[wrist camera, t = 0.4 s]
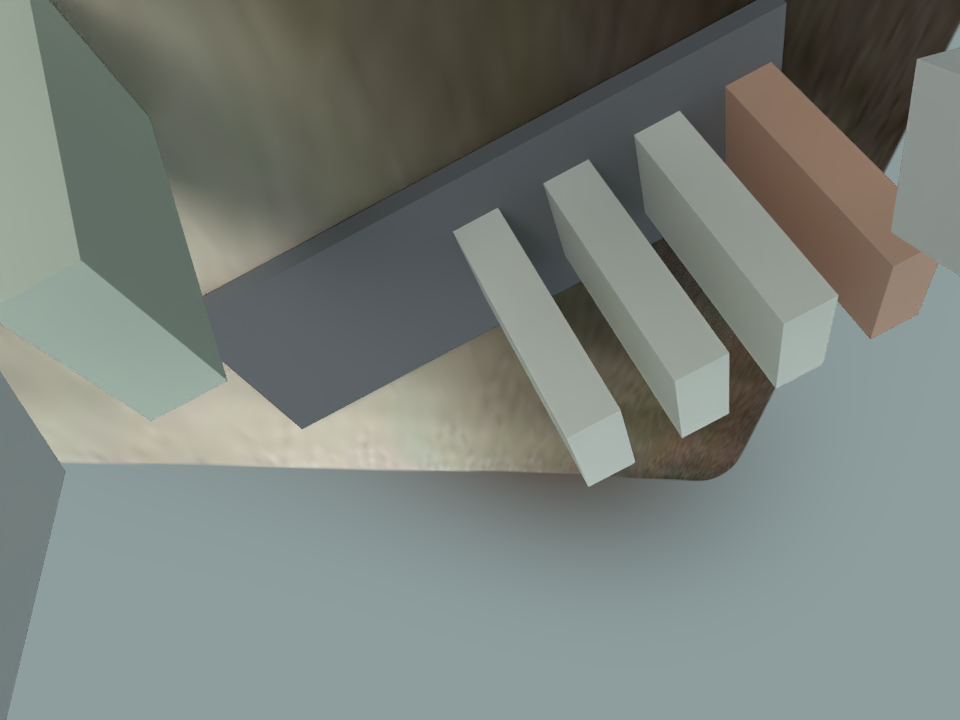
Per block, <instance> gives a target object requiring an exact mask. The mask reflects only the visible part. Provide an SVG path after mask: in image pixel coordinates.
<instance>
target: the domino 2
mask: <svg viewBox="0 0 960 720" xmlns="http://www.w3.org/2000/svg"><path fill="white" fill-rule="evenodd" d="M453 233H454V235H455V237H456V239H457V241H458V243H459V245H460V247H461V250H462V252H463V254H464V256H465V258H466V260H467V262H468V264H469V266H470V268H471V270H472V272H473V274H474V276H475V278H476V280H477V282H478V284H479V286H480V288H481V290H482V292H483V294H484V296H485V298H486V300H487V302H488V304H489V306H490V308H491V309H492V311H493V313H494V315H495V317H496V319H497V320H498V322H499V324H500V326H501V328H502V330H503V331H504V333H505V335H506V337H507V339H508V341H509V342H510V344H511V346H512V348H513V350H514V351H515V353H516V355H517V357H518V359H519V361H520V362H521V364H522V366H523V368H524V370H525V372H526V373H527V375H528V377H529V379H530V381H531V383H532V384H533V386H534V388H535V390H536V392H537V394H538V395H539V397H540V399H541V401H542V403H543V405H544V406H545V408H546V410H547V412H548V414H549V416H550V417H551V419H552V421H553V423H554V425H555V427H556V428H557V430H558V432H559V434H560V436H561V438H562V439H563V441H564V443H565V445H566V447H567V449H568V450H569V452H570V454H571V456H572V458H573V459H574V461H575V463H576V465H577V467H578V469H579V470H580V472H581V474H582V476H583V478H584V480H585V481H586V483H587V485H588V486H591V485H593V484H595V483H597V482H599V481H601V480H603V479H605V478H607V477H609V476H610V475H612V474H614V473H616V472H618V471H620V470H622V469H624V468H626V467H628V466H630V465H631V464H633V463H635V460H634V456H633V453H632V449H631V446H630V442H629V439H628V435H627V431H626V428H625V424H624V421H623V417H622V413H621V410H620V408H619V407H618V405H617V403H616V402H615V400H614V398H613V397H612V395H611V393H610V392H609V390H608V388H607V387H606V385H605V384H604V382H603V380H602V379H601V377H600V375H599V374H598V372H597V370H596V369H595V367H594V365H593V364H592V362H591V360H590V359H589V357H588V355H587V354H586V352H585V351H584V349H583V347H582V346H581V344H580V342H579V341H578V339H577V337H576V336H575V334H574V332H573V331H572V329H571V327H570V326H569V324H568V322H567V321H566V319H565V318H564V316H563V314H562V313H561V311H560V309H559V308H558V306H557V304H556V303H555V301H554V299H553V298H552V296H551V294H550V293H549V291H548V289H547V288H546V286H545V285H544V283H543V281H542V280H541V278H540V276H539V275H538V273H537V271H536V270H535V268H534V266H533V265H532V263H531V261H530V260H529V258H528V256H527V255H526V253H525V252H524V250H523V248H522V247H521V245H520V243H519V242H518V240H517V238H516V237H515V235H514V233H513V232H512V230H511V228H510V227H509V225H508V223H507V222H506V220H505V218H504V217H503V215H502V214H501V212H500V210H499V209H498V208H496V209H494V210H492V211H491V212H489V213H487V214H485V215H483V216H481V217H479V218H477V219H476V220H474V221H472V222H470V223H468V224H466V225H464V226H462V227H461V228H459V229H457V230H455V231H453Z"/></svg>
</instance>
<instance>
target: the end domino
mask: <svg viewBox="0 0 960 720" xmlns="http://www.w3.org/2000/svg"><path fill="white" fill-rule="evenodd" d="M725 152H726V165H727V166H728V167H729V169H730V170H731V171H732V172H733V173H734V174H735V176H736V177H737V178H738V179H739V180H740V181H741V183H742V184H743V185H744V186H745V187H746V188H747V190H748V191H749V192H750V193H751V194H752V195H753V197H754V198H755V199H756V200H757V201H758V202H759V204H760V205H761V206H762V207H763V208H764V209H765V210H766V212H767V213H768V214H769V215H770V216H771V217H772V219H773V220H774V221H775V222H776V223H777V224H778V226H779V227H780V228H781V229H782V230H783V231H784V233H785V234H786V235H787V236H788V237H789V238H790V240H791V241H792V242H793V243H794V244H795V245H796V247H797V248H798V249H799V250H800V251H801V252H802V253H803V255H804V256H805V257H806V258H807V259H808V260H809V262H810V263H811V264H812V265H813V266H814V267H815V269H816V270H817V271H818V272H819V273H820V274H821V276H822V277H823V278H824V279H825V280H826V281H827V283H828V284H829V285H830V286H831V287H832V288H833V290H834V291H835V292H836V293H837V294H838V295H839V296H838V300H837V301H838V302H839V303H840V304H841V305H842V307H843V308H844V309H845V310H846V311H847V312H848V314H849V315H850V316H851V317H852V318H853V320H854V321H855V322H856V323H857V324H858V325H859V327H860V328H861V329H862V330H863V331H864V332H865V334H866V335H867V336H868V337H869V338H870V339H872V338H874V337H875V336H877V335H879V334H881V333H883V332H885V331H887V330H889V329H891V328H893V327H895V326H897V325H898V324H900V323H902V322H904V321H906V320H908V319H910V318H912V317H914V316H916V315H918V313H919V310H920V308H921V305H922V303H923V300H924V297H925V295H926V293H927V290H928V288H929V285H930V283H931V280H932V278H933V275H934V273H935V270H936V268H937V265H938V262H936V261H935V260H933V259H932V258H930V257H929V256H927V255H926V254H924V253H922V252H921V251H919V250H918V249H916V248H915V247H913V246H912V245H910V244H909V243H907V242H905V241H904V240H902V239H901V238H899V237H898V236H896V235H895V234H893V233H891V228H892V221H893V214H894V208H895V201H896V195H897V188H898V187H897V186H896V185H895V184H894V183H893V182H892V181H891V180H890V179H889V178H888V177H887V176H886V175H885V174H884V173H883V172H882V171H881V170H880V169H879V168H878V167H877V166H876V165H875V164H874V163H873V162H872V161H871V160H870V159H869V158H868V157H867V156H866V155H865V154H864V153H863V152H862V151H861V150H860V149H859V148H858V147H857V146H856V145H855V144H854V143H853V142H852V141H851V140H850V139H849V138H848V137H847V136H846V135H845V134H844V133H843V132H842V131H840V130H839V129H838V128H837V127H836V126H835V125H834V124H833V123H832V122H831V121H830V120H829V119H828V118H827V117H826V116H825V115H824V114H823V113H822V112H821V111H820V110H819V109H818V108H817V107H816V106H815V105H814V104H813V103H812V102H811V101H810V100H809V99H808V98H807V97H806V96H805V95H804V94H803V93H802V92H801V91H800V90H799V89H798V88H797V87H796V86H795V85H794V84H793V83H792V82H791V81H790V80H789V79H788V78H787V77H786V76H785V75H784V74H783V73H782V72H781V71H780V70H779V69H778V68H777V67H776V66H775V65H774V64H773V63H772V62H770V63H768V64H766V65H764V66H762V67H761V68H759V69H757V70H755V71H753V72H751V73H749V74H747V75H746V76H744V77H742V78H740V79H738V80H736V81H734V82H732V83H731V84H729V85H727V86H725Z"/></svg>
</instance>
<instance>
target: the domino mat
mask: <svg viewBox="0 0 960 720" xmlns="http://www.w3.org/2000/svg"><path fill="white" fill-rule="evenodd" d="M786 5H787V2H786V1H784V0H756V1H754V2H752V3H750V4H749V5H747V6H745V7H743V8H741V9H739V10H737V11H736V12H734V13H732V14H730V15H728V16H726V17H724V18H722V19H721V20H719V21H717V22H715V23H713V24H711V25H709V26H708V27H706V28H704V29H702V30H700V31H698V32H696V33H694V34H693V35H691V36H689V37H687V38H685V39H683V40H681V41H679V42H678V43H676V44H674V45H672V46H670V47H668V48H666V49H665V50H663V51H661V52H659V53H657V54H655V55H653V56H651V57H650V58H648V59H646V60H644V61H642V62H640V63H638V64H637V65H635V66H633V67H631V68H629V69H627V70H625V71H623V72H622V73H620V74H618V75H616V76H614V77H612V78H610V79H608V80H607V81H605V82H603V83H601V84H599V85H597V86H595V87H594V88H592V89H590V90H588V91H586V92H584V93H582V94H580V95H579V96H577V97H575V98H573V99H571V100H569V101H567V102H566V103H564V104H562V105H560V106H558V107H556V108H554V109H552V110H551V111H549V112H547V113H545V114H543V115H541V116H539V117H537V118H536V119H534V120H532V121H530V122H528V123H526V124H524V125H523V126H521V127H519V128H517V129H515V130H513V131H511V132H509V133H508V134H506V135H504V136H502V137H500V138H498V139H496V140H495V141H493V142H491V143H489V144H487V145H485V146H483V147H481V148H480V149H478V150H476V151H474V152H472V153H470V154H468V155H466V156H465V157H463V158H461V159H459V160H457V161H455V162H453V163H452V164H450V165H448V166H446V167H444V168H442V169H440V170H438V171H437V172H435V173H433V174H431V175H429V176H427V177H425V178H424V179H422V180H420V181H418V182H416V183H414V184H412V185H410V186H409V187H407V188H405V189H403V190H401V191H399V192H397V193H395V194H394V195H392V196H390V197H388V198H386V199H384V200H382V201H381V202H379V203H377V204H375V205H373V206H371V207H369V208H367V209H366V210H364V211H362V212H360V213H358V214H356V215H354V216H353V217H351V218H349V219H347V220H345V221H343V222H341V223H339V224H338V225H336V226H334V227H332V228H330V229H328V230H326V231H324V232H323V233H321V234H319V235H317V236H315V237H313V238H311V239H310V240H308V241H306V242H304V243H302V244H300V245H298V246H296V247H295V248H293V249H291V250H289V251H287V252H285V253H283V254H282V255H280V256H278V257H276V258H274V259H272V260H270V261H268V262H267V263H265V264H263V265H261V266H259V267H257V268H255V269H253V270H252V271H250V272H248V273H246V274H244V275H242V276H240V277H239V278H237V279H235V280H233V281H231V282H229V283H227V284H225V285H224V286H222V287H220V288H218V289H216V290H214V291H212V292H211V293H209V294H207V295H205V296H203V300H204V304H205V307H206V310H207V314H208V317H209V320H210V324H211V327H212V331H213V334H214V337H215V341H216V344H217V347H218V351H219V354H220V357H221V360H222V361H223V362H224V363H225V364H226V365H227V366H229V367H230V368H231V369H232V370H233V371H235V372H236V373H237V374H238V375H239V376H240V377H242V378H243V379H244V380H245V381H246V382H247V383H249V384H250V385H251V386H252V387H253V388H254V389H256V390H257V391H258V392H259V393H260V394H262V395H263V396H264V397H265V398H266V399H267V400H269V401H270V402H271V403H272V404H273V405H274V406H276V407H277V408H278V409H279V410H280V411H281V412H283V413H284V414H285V415H286V416H287V417H288V418H290V419H291V420H292V421H293V422H294V423H296V424H297V425H298V426H299V427H300V428H301V429H303V428H305V427H307V426H309V425H311V424H313V423H315V422H317V421H318V420H320V419H322V418H324V417H326V416H328V415H330V414H332V413H334V412H335V411H337V410H339V409H341V408H343V407H345V406H347V405H349V404H351V403H352V402H354V401H356V400H358V399H360V398H362V397H364V396H366V395H367V394H369V393H371V392H373V391H375V390H377V389H379V388H381V387H383V386H384V385H386V384H388V383H390V382H392V381H394V380H396V379H398V378H400V377H401V376H403V375H405V374H407V373H409V372H411V371H413V370H415V369H417V368H418V367H420V366H422V365H424V364H426V363H428V362H430V361H432V360H434V359H435V358H437V357H439V356H441V355H443V354H445V353H447V352H449V351H451V350H452V349H454V348H456V347H458V346H460V345H462V344H464V343H466V342H467V341H469V340H471V339H473V338H475V337H477V336H479V335H481V334H483V333H484V332H486V331H488V330H490V329H492V328H494V327H496V326H498V325H500V324H499V322H498V320H497V319H496V317H495V315H494V313H493V311H492V309H491V308H490V306H489V304H488V302H487V300H486V298H485V296H484V294H483V292H482V290H481V288H480V286H479V284H478V282H477V280H476V278H475V276H474V274H473V272H472V270H471V268H470V266H469V264H468V262H467V260H466V258H465V256H464V254H463V252H462V250H461V247H460V245H459V243H458V241H457V239H456V237H455V235H454V233H453V231H455V230H457V229H459V228H461V227H462V226H464V225H466V224H468V223H470V222H472V221H474V220H476V219H477V218H479V217H481V216H483V215H485V214H487V213H489V212H491V211H492V210H494V209H496V208H498V209H499V210H500V212H501V214H502V215H503V217H504V218H505V220H506V222H507V223H508V225H509V227H510V228H511V230H512V232H513V233H514V235H515V237H516V238H517V240H518V242H519V243H520V245H521V247H522V248H523V250H524V252H525V253H526V255H527V256H528V258H529V260H530V261H531V263H532V265H533V266H534V268H535V270H536V271H537V273H538V275H539V276H540V278H541V280H542V281H543V283H544V285H545V286H546V288H547V289H548V291H549V293H550V294H551V296H554V295H556V294H558V293H560V292H562V291H564V290H566V289H568V288H569V287H571V286H573V285H575V284H577V283H579V282H581V280H580V278H579V277H578V275H577V273H576V272H575V270H574V269H573V267H572V266H571V264H570V262H569V261H568V259H567V258H566V256H565V254H564V251H563V247H562V244H561V241H560V238H559V234H558V231H557V228H556V224H555V221H554V218H553V214H552V211H551V208H550V204H549V201H548V198H547V195H546V191H545V188H544V185H543V183H545V182H547V181H549V180H551V179H552V178H554V177H556V176H558V175H560V174H562V173H564V172H566V171H567V170H569V169H571V168H573V167H575V166H577V165H579V164H581V163H582V162H584V161H586V160H588V159H589V161H590V162H591V163H592V165H593V166H594V167H595V169H596V170H597V172H598V173H599V174H600V176H601V177H602V178H603V180H604V181H605V183H606V184H607V185H608V187H609V188H610V189H611V191H612V192H613V194H614V195H615V196H616V198H617V199H618V201H619V202H620V203H621V205H622V206H623V207H624V209H625V210H626V212H627V213H628V214H629V216H630V217H631V218H632V220H633V221H634V223H635V224H636V225H637V227H638V228H639V229H640V231H641V232H642V234H643V235H644V236H645V238H646V239H647V240H648V242H649V243H650V245H651V244H652V243H654V242H656V241H658V240H660V239H662V238H663V236H662V235H661V233H660V232H659V231H658V229H657V228H656V227H655V225H654V224H653V223H652V221H651V220H650V219H649V217H648V216H647V215H646V213H645V209H644V202H643V195H642V188H641V181H640V174H639V167H638V160H637V153H636V145H635V138H634V135H635V134H637V133H639V132H641V131H642V130H644V129H646V128H648V127H650V126H652V125H654V124H656V123H657V122H659V121H661V120H663V119H665V118H667V117H669V116H671V115H672V114H674V113H676V112H678V111H680V112H681V113H682V114H683V115H684V116H685V117H686V119H687V120H688V121H689V122H690V123H691V124H692V126H693V127H694V128H695V129H696V130H697V131H698V133H699V134H700V135H701V136H702V137H703V138H704V140H705V141H706V142H707V143H708V144H709V145H710V147H711V148H712V149H713V150H714V151H715V152H716V154H717V155H718V156H719V157H720V158H721V159H722V161H723V162H724V163H725V164H726V152H725V86H727V85H729V84H731V83H732V82H734V81H736V80H738V79H740V78H742V77H744V76H746V75H747V74H749V73H751V72H753V71H755V70H757V69H759V68H761V67H762V66H764V65H766V64H768V63H770V62H772V63H773V64H774V65H775V66H776V67H777V68H778V69H779V70H780V71H782V58H783V45H784V32H785V18H786Z"/></svg>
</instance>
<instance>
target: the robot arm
mask: <svg viewBox="0 0 960 720" xmlns="http://www.w3.org/2000/svg"><path fill="white" fill-rule="evenodd" d="M891 233H893V234H895V235H896V236H898V237H899V238H901V239H902V240H904V241H905V242H907V243H909V244H910V245H912V246H913V247H915V248H916V249H918V250H919V251H921V252H922V253H924V254H926V255H927V256H929V257H930V258H932V259H933V260H935V261H936V262H938V263H939V264H941V265H943V266H944V267H946V268H947V269H949V270H950V271H952V272H953V273H955V274H956V275H958V276H960V48H956V49H953V50H949V51H945V52H941V53H938V54H934V55H930V56H926V57H923V58H919V59H917V63H916V70H915V76H914V83H913V89H912V96H911V103H910V109H909V116H908V122H907V129H906V135H905V142H904V149H903V155H902V162H901V168H900V175H899V182H898V188H897V195H896V201H895V208H894V214H893V221H892V228H891ZM64 476H65V470H64V468H63V467H62V465H61V464H60V462H59V461H58V459H57V458H56V456H55V454H54V453H53V451H52V450H51V448H50V447H49V445H48V444H47V442H46V441H45V439H44V438H43V436H42V435H41V433H40V432H39V430H38V428H37V427H36V425H35V424H34V422H33V421H32V419H31V418H30V416H29V415H28V413H27V412H26V410H25V409H24V407H23V406H22V404H21V402H20V401H19V399H18V398H17V396H16V395H15V393H14V392H13V390H12V389H11V387H10V386H9V384H8V383H7V381H6V379H5V378H4V376H3V375H2V373H1V372H0V720H6V719H7V715H8V710H9V706H10V702H11V698H12V694H13V689H14V685H15V681H16V677H17V673H18V669H19V665H20V660H21V656H22V651H23V648H24V644H25V639H26V635H27V631H28V627H29V622H30V618H31V614H32V610H33V606H34V602H35V597H36V593H37V589H38V584H39V581H40V576H41V572H42V568H43V564H44V559H45V555H46V551H47V547H48V543H49V539H50V535H51V530H52V526H53V522H54V518H55V514H56V509H57V505H58V501H59V497H60V492H61V488H62V484H63V480H64Z"/></svg>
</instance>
